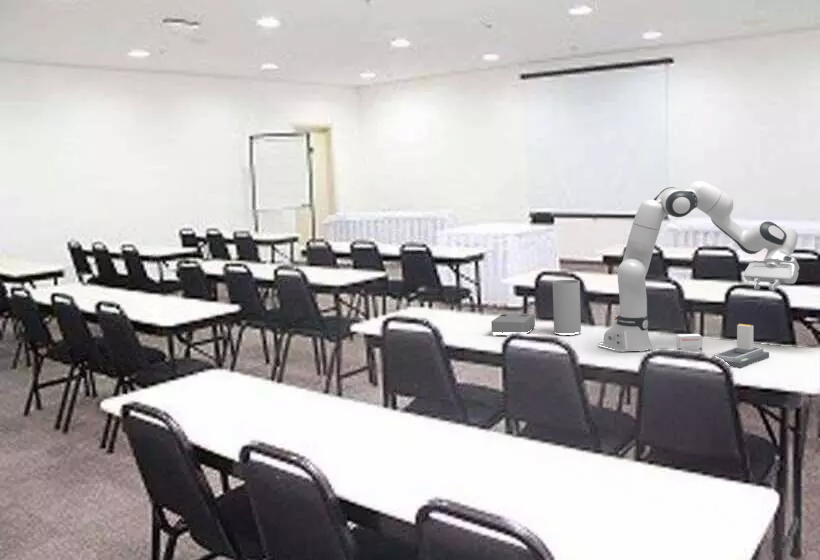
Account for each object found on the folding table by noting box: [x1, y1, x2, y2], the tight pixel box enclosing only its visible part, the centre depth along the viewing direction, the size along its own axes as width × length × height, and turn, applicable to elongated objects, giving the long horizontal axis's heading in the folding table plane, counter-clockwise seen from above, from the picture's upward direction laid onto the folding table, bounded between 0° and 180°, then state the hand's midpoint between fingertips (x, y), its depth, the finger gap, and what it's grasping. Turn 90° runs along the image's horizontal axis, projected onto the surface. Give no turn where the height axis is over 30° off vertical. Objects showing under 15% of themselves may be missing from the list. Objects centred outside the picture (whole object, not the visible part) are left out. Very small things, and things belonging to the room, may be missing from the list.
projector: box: [491, 312, 536, 333], centre depth 362 cm, size 17×22×8 cm
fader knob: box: [735, 323, 755, 353], centre depth 289 cm, size 6×4×11 cm, turn 38°
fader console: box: [713, 346, 770, 369], centre depth 287 cm, size 13×22×3 cm, turn 128°
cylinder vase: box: [552, 279, 582, 333], centre depth 351 cm, size 12×12×25 cm
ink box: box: [675, 333, 703, 354], centre depth 284 cm, size 9×5×12 cm, turn 84°
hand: (763, 289), depth 296 cm, fingers open, 5 cm apart
